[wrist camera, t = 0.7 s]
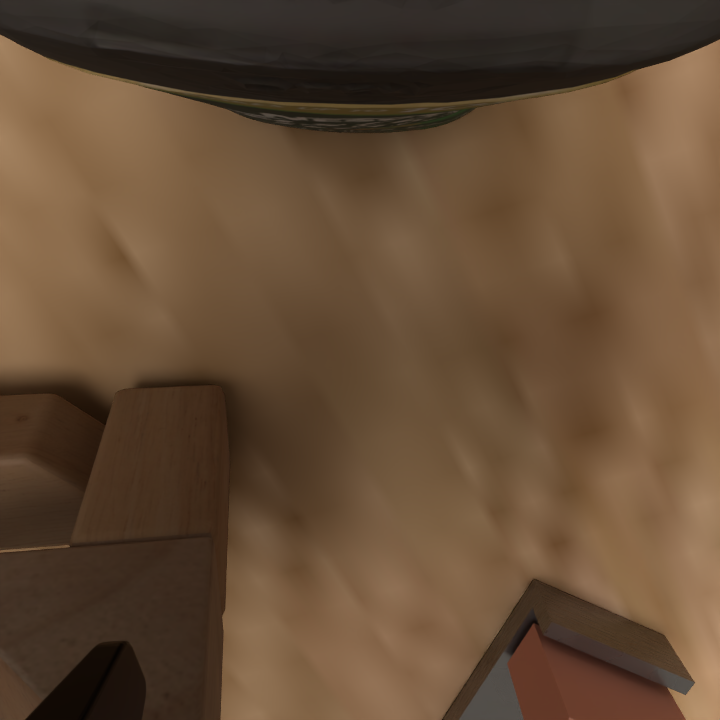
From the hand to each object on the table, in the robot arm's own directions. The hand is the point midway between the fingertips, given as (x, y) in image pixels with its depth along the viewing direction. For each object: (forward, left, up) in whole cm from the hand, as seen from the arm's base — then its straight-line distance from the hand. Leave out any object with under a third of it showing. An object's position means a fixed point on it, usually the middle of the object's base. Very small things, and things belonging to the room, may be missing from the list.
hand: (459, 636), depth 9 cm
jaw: (-8, -12, -14) cm, 20 cm away
